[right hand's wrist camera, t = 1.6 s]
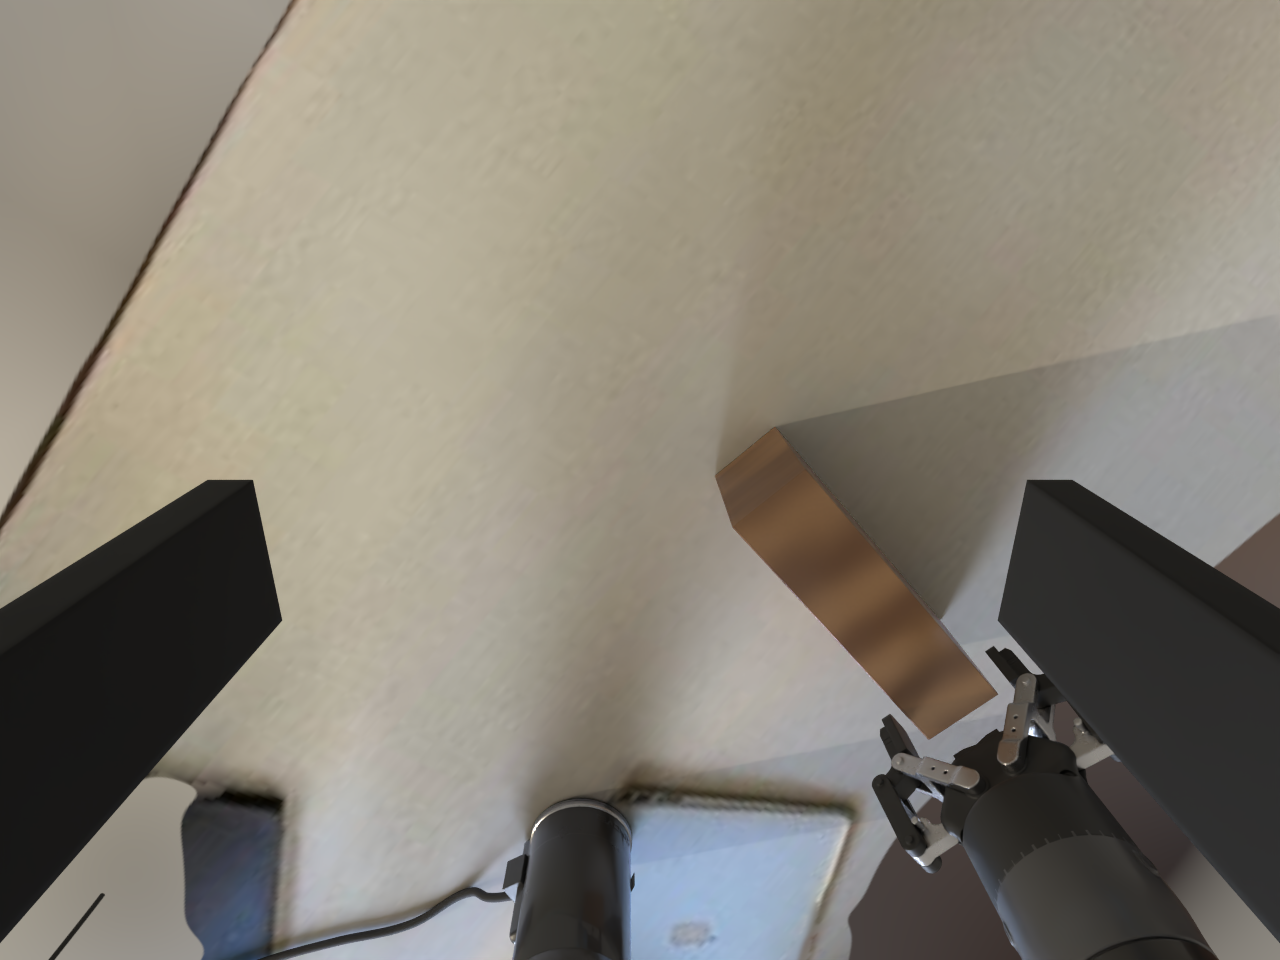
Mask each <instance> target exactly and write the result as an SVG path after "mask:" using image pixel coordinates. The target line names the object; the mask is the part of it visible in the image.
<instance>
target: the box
mask: <svg viewBox="0 0 1280 960" xmlns="http://www.w3.org/2000/svg"><path fill="white" fill-rule="evenodd" d="M715 477H716V480H717V483H718V486H719V489H720V492H721V495H722V498H723V501H724V504H725V507H726V510H727V512H728V515H729V518H730V521H731V524H732V527H733V528H734V529H735V531H736V532H737V533H738V534H739V535H740V536H741V537H742V538H743V539H744V540H745V541H746V542H747V544H748V545H749V546H750V547H751V548H752V549H753V550H754V551H755V552H756V553H757V554H758V555H759V557H760V558H761V559H762V560H763V561H764V562H765V563H766V564H767V565H768V566H769V567H770V569H771V570H772V571H773V572H774V573H775V574H776V575H777V576H778V577H779V578H780V579H781V580H782V582H783V583H784V584H785V585H786V586H787V587H788V588H789V589H790V590H791V591H792V592H793V593H794V595H795V596H796V597H797V598H798V599H799V600H800V601H801V602H802V603H803V604H804V605H805V606H806V608H807V609H808V610H809V611H810V612H811V613H812V614H813V615H814V616H815V617H816V618H817V619H818V621H819V622H820V623H821V624H822V625H823V626H824V627H825V628H826V629H827V630H828V631H829V632H830V634H831V635H832V636H833V637H834V638H835V639H836V640H837V641H838V642H839V643H840V644H841V646H842V647H843V648H844V649H845V650H846V651H847V652H848V653H849V654H850V655H851V656H852V657H853V659H854V660H855V661H856V662H857V663H858V664H859V665H860V666H861V667H862V668H863V669H864V670H865V672H866V673H867V674H868V675H869V676H870V677H871V678H872V679H873V680H874V681H875V682H876V683H877V685H878V686H879V687H880V688H881V689H882V690H883V691H884V692H885V693H886V694H887V695H888V696H889V698H890V699H891V700H892V701H893V702H894V703H895V704H896V705H897V706H898V707H899V708H900V709H901V711H902V712H903V713H904V714H905V715H906V716H907V717H908V718H909V719H910V720H911V721H912V722H913V724H914V725H915V726H916V727H917V728H918V729H919V730H920V731H921V732H922V733H923V734H924V736H925V737H926V738H927V739H928V740H929V739H931V738H932V737H934V736H936V735H937V734H939V733H940V732H942V731H943V730H945V729H946V728H948V727H949V726H951V725H952V724H954V723H955V722H957V721H958V720H960V719H961V718H963V717H964V716H966V715H968V714H969V713H971V712H972V711H974V710H975V709H977V708H978V707H980V706H981V705H983V704H984V703H986V702H987V701H989V700H990V699H992V698H993V697H995V696H997V695H998V693H997V692H996V691H995V689H994V688H993V687H992V686H991V684H990V683H989V682H988V680H987V679H986V678H985V677H984V675H983V674H982V673H981V672H980V670H979V669H978V668H977V666H976V665H975V664H974V663H973V661H972V660H971V659H970V658H969V656H968V655H967V654H966V652H965V651H964V650H963V649H962V647H961V646H960V645H959V644H958V642H957V641H956V640H955V638H954V637H953V636H952V635H951V633H950V632H949V631H948V630H947V628H946V627H945V626H944V624H943V623H942V622H941V621H940V620H939V618H938V617H937V616H936V615H935V614H934V612H933V611H932V610H931V609H930V608H929V607H928V605H927V604H926V603H925V602H924V601H923V600H922V598H921V597H920V596H919V595H918V594H917V592H916V591H915V590H914V589H913V588H912V587H911V585H910V584H909V583H908V582H907V581H906V580H905V578H904V577H903V576H902V575H901V574H900V573H899V571H898V570H897V569H896V568H895V567H894V565H893V564H892V563H891V562H890V561H889V560H888V558H887V557H886V556H885V555H884V554H883V553H882V551H881V550H880V549H879V548H878V547H877V546H876V544H875V543H874V542H873V541H872V540H871V538H870V537H869V536H868V535H867V534H866V533H865V531H864V530H863V529H862V528H861V527H860V526H859V524H858V523H857V522H856V521H855V520H854V519H853V517H852V516H851V515H850V514H849V513H848V511H847V510H846V509H845V508H844V507H843V506H842V504H841V503H840V502H839V501H838V500H837V499H836V497H835V496H834V495H833V494H832V493H831V491H830V490H829V489H828V488H827V487H826V486H825V484H824V483H823V482H822V481H821V480H820V479H819V477H818V476H817V475H816V474H815V473H814V472H813V470H812V469H811V468H810V467H809V466H808V464H807V463H806V462H805V461H804V460H803V459H802V457H801V456H800V455H799V454H798V453H797V452H796V450H795V449H794V448H793V447H792V446H791V445H790V443H789V442H788V441H787V440H786V439H785V437H784V436H783V435H782V434H781V433H780V432H779V430H778V429H777V428H776V427H774V428H773V429H772V430H770V431H769V432H768V433H767V434H765V435H764V436H763V437H762V438H761V439H759V440H758V441H757V442H756V443H754V444H753V445H752V446H751V447H750V448H748V449H747V450H746V451H745V452H743V453H742V454H741V455H740V456H738V457H737V458H736V459H735V460H734V461H732V462H731V463H730V464H729V465H727V466H726V467H725V468H724V469H723V470H721V471H720V472H719V473H718V474H716V475H715Z"/></svg>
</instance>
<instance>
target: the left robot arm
mask: <svg viewBox="0 0 1280 960" xmlns="http://www.w3.org/2000/svg"><path fill="white" fill-rule="evenodd" d="M985 652H986V653H987V655H988V656H989V657H990V658H991V660H992V661H993V662H994V663H995V665H996V666H997V667H998V668H999V670H1000V671H1001V672H1002V673H1003V675H1004V676H1005V677H1006V678H1007V680H1008V681H1009V682H1010V683H1011V685H1012V686H1013V687H1014V688H1015V694H1014V701H1013V703H1009V704H1008V707H1007V713H1006V719H1005V725H1004V731H1001V732H999V731H998V730H997V729H995V730H994V731H992V732H990V733H989V734H987V735H986V736H985V737H984V738H983V739H982V740H981V741H980V742H978V743H977V744H976V745H974V746H971V747H968V748H965V749H963V750H961V751H960V752H958V753H957V754H955V755H953V756H954V757H955V760H954V761H953V763H952V764H948V763H945V762H942V761H939V760H935V759H932V758H929V757H924V758H923V759H921V758H920V757H919V756H918V754H917V752H916V750H915V748H914V746H913V744H912V742H911V740H910V738H909V736H908V734H907V733H906V731H905V730H904V729H903V727H902V726H901V725H900V724H899V723H898V722H897V721H896V720H895V718H894V717H893V716H892V715H891V714H889V715H888V716H886V717H885V718H883V719H882V721H883V723H884V726H885V727H883V728H882V729H880V737H881V739H882V741H883V743H884V745H885V747H886V749H887V752H888V754H889V756H890V758H891V760H892V761H891V764H892V766H891V769H890V771H889V772H888V773H887V774H886V775H884V774H880V775H878V776H876V777H875V778H874V779H873V782H872V787H873V789H874V791H875V793H876V795H877V797H878V799H879V801H880V803H881V805H882V807H883V809H884V811H885V813H886V815H887V817H888V819H889V821H890V823H891V826H892V828H893V830H894V832H895V834H896V836H897V838H898V840H899V841H900V844H901V846H902V847H903V848H904V849H905V850H906V851H907V852H908V853H909V854H910V855H911V856H912V857H913V858H914V859H915V860H916V862H918V863H919V865H920V866H921V867H922V868H923V869H924V870H925V871H927V872H928V873H935V872H937V871H938V870H939V869H940V868H941V865H942V860H941V858H940V856H939V855H941V854H942V853H944V852H945V851H947V850H948V849H950V848H951V847H953V846H954V845H956V844H957V843H959V844H960V845H962V846H963V847H964V848H965V850H966V852H967V854H968V856H969V858H970V860H971V862H972V864H973V866H974V868H975V870H976V872H977V874H978V876H979V877H980V879H981V881H982V883H983V885H984V887H985V889H986V891H987V893H988V895H989V897H990V899H991V901H992V903H993V905H994V907H995V908H996V910H997V912H998V914H999V916H1000V918H1001V920H1002V922H1003V926H1004V930H1005V932H1006V935H1007V937H1008V939H1009V941H1010V942H1011V944H1012V946H1014V948H1015V949H1016V950H1017V951H1018V953H1019V955H1020V956H1021V958H1022V960H1219V959H1218V958H1217V956H1216V955H1215V953H1214V952H1213V951H1212V949H1211V948H1210V947H1209V945H1208V943H1207V942H1206V940H1205V939H1204V937H1203V935H1202V934H1201V932H1200V930H1199V929H1198V927H1197V925H1196V924H1195V922H1194V920H1193V919H1192V917H1191V916H1190V914H1189V913H1188V911H1187V910H1186V908H1185V907H1184V906H1183V904H1182V903H1181V901H1180V900H1179V899H1178V897H1177V896H1176V895H1175V894H1174V892H1173V891H1172V890H1171V888H1170V887H1169V886H1168V885H1167V884H1166V882H1165V881H1164V880H1163V878H1162V877H1161V876H1160V874H1159V872H1158V870H1157V868H1156V867H1155V866H1154V864H1153V863H1152V862H1151V861H1150V860H1149V859H1148V858H1147V857H1146V856H1145V855H1144V854H1143V853H1142V852H1141V851H1140V849H1139V848H1138V847H1137V846H1136V844H1135V843H1134V842H1133V840H1132V839H1131V838H1130V837H1129V835H1128V834H1127V833H1126V832H1125V830H1124V829H1123V828H1122V827H1121V825H1120V824H1119V823H1118V822H1117V820H1116V819H1115V818H1114V817H1113V815H1112V814H1111V813H1110V812H1109V810H1108V809H1107V808H1106V806H1105V805H1104V804H1103V803H1102V801H1101V800H1100V799H1099V798H1098V796H1097V795H1096V794H1095V793H1094V791H1093V790H1092V789H1091V788H1090V786H1089V785H1088V783H1087V779H1086V770H1085V768H1087V767H1089V766H1091V765H1093V764H1095V763H1097V762H1099V761H1101V760H1103V759H1105V758H1107V757H1108V756H1110V757H1111V758H1112V759H1113V760H1115V761H1118V762H1121V761H1120V760H1119V758H1118V757H1117V756H1116V755H1115V754H1114V753H1113V752H1112V750H1111V749H1110V748H1109V747H1108V746H1107V745H1106V744H1105V742H1104V741H1103V740H1102V739H1101V738H1100V737H1099V736H1098V734H1097V733H1096V732H1095V731H1094V730H1093V729H1092V728H1091V726H1090V725H1089V724H1088V723H1087V722H1086V721H1085V720H1084V718H1083V717H1082V716H1081V715H1080V714H1079V713H1078V712H1077V710H1076V709H1075V708H1074V707H1073V706H1072V705H1071V704H1070V702H1069V701H1068V700H1067V699H1066V698H1065V697H1064V696H1063V694H1062V693H1061V692H1060V691H1059V690H1058V689H1057V688H1056V686H1055V685H1054V684H1053V683H1052V682H1051V681H1050V680H1049V678H1048V677H1047V676H1046V675H1045V674H1041V675H1035V674H1032V673H1031V672H1030V671H1029V670H1028V669H1027V668H1026V667H1025V666H1024V665H1023V663H1022V662H1021V661H1020V660H1019V659H1018V658H1017V656H1016V655H1015V654H1014V653H1013V652H1012V651H1011V650H1009V649H1006V648H1005V649H1003V650H1001V651H1000V652H998V651H997V649H996V648H995V647H994V646H993V647H991V648H990V649H988V650H987V651H985ZM1064 701H1067V702H1068V703H1069V704H1070V706H1071V707H1072V708H1073V710H1074V711H1075V712H1076V713H1077V715H1078V716H1079V717H1080V718H1076V719H1074V721H1073V723H1074V724H1075V725H1074V727H1073V733H1074V735H1075V741H1074V743H1073V744H1072V745H1071V746H1070V747H1068V746H1067V745H1065V744H1063V743H1060V742H1056V735H1055V732H1054V729H1053V721H1054V713H1055V704H1057V703H1060V702H1064ZM915 790H916V791H919V792H921V793H924V794H927V795H930V796H932V797H935V798H937V799H939V800H940V801H941V802H943V804H942V810H941V822H942V823H941V824H937V825H935V824H932V823H930V822H929V820H927V819H926V818H918V816H917V814H916V812H915V810H914V809H913V807H912V805H911V803H910V801H909V800H908V797H909V796H910V795H911V794H912V793H913V792H914V791H915ZM631 847H632V836H631V830H630V827H629V824H628V822H627V821H626V819H625V818H624V817H623V815H622V814H621V813H620V812H618V811H617V810H616V809H614V808H613V807H611V806H609V805H607V804H605V803H603V802H600V801H596V800H591V799H571V800H566V801H562V802H559V803H557V804H554V805H552V806H551V807H549V808H547V809H546V810H545V811H544V812H542V813H541V814H540V816H539V817H538V818H537V820H536V821H535V823H534V825H533V828H532V832H531V839H530V840H529V841H527V842H526V843H525V845H524V851H523V855H521V856H519V857H517V858H514V859H512V860H510V861H508V863H507V868H506V874H505V879H504V884H503V890H504V891H505V892H501V893H487V892H485V891H483V890H482V889H480V888H476V887H471V888H467V889H464V890H461V891H459V892H457V893H455V894H453V895H451V896H450V897H448V898H447V899H445V900H444V901H442V902H441V903H439V904H438V905H436V906H435V907H433V908H432V909H430V910H429V911H427V912H426V913H424V914H422V915H420V916H418V917H416V918H414V919H412V920H409V921H406V922H403V923H400V924H397V925H393V926H390V927H385V928H381V929H376V930H370V931H365V932H359V933H354V934H349V935H344V936H340V937H336V938H332V939H328V940H324V941H320V942H316V943H312V944H308V945H304V946H301V947H297V948H293V949H290V950H286V951H283V952H280V953H276V954H273V955H270V956H267V957H264V958H261V959H258V960H285V959H289V958H292V957H296V956H299V955H303V954H307V953H311V952H315V951H319V950H323V949H327V948H331V947H335V946H339V945H343V944H348V943H353V942H358V941H364V940H369V939H375V938H380V937H384V936H389V935H393V934H396V933H400V932H403V931H406V930H409V929H411V928H414V927H416V926H418V925H420V924H422V923H424V922H426V921H428V920H429V919H431V918H432V917H434V916H435V915H437V914H438V913H440V912H441V911H443V910H444V909H446V908H447V907H449V906H450V905H452V904H453V903H455V902H457V901H459V900H461V899H464V898H467V897H471V896H476V897H477V898H479V899H480V900H482V901H485V902H504V901H510V900H513V902H514V903H515V905H514V911H513V917H512V923H511V928H510V940H511V942H512V943H513V944H515V947H514V953H513V960H631V891H632V889H633V887H634V886H635V884H634V874H633V876H632V878H631V862H630V853H631ZM104 896H105V894H104V893H101V894H100V895H99V896H98V897H97V899H96V900H95V901H94V903H93V904H92V905H91V907H90V908H89V909H88V910H87V912H86V913H85V914H84V915H83V917H82V918H81V919H80V921H79V922H78V923H77V924H76V926H75V927H74V928H73V929H72V931H71V932H70V933H69V934H68V936H67V937H66V938H65V939H64V941H63V942H62V943H61V944H60V946H59V947H58V948H57V949H56V951H55V952H54V953H53V954H52V956H51V957H50V958H49V959H48V960H55V959H56V958H57V956H58V955H59V954H60V952H61V951H62V950H63V949H64V947H65V946H66V945H67V944H68V942H69V941H70V940H71V939H72V937H73V936H74V935H75V934H76V932H77V931H78V930H79V928H80V927H81V926H82V925H83V923H84V922H85V921H86V920H87V918H88V917H89V916H90V914H91V913H92V912H93V910H94V909H95V908H96V907H97V905H98V904H99V903H100V901H101V900H102V899H103V897H104Z"/></svg>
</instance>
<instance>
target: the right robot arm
mask: <svg viewBox="0 0 1280 960" xmlns="http://www.w3.org/2000/svg"><path fill="white" fill-rule="evenodd" d="M281 621H282V617H281V612H280V608H279V603H278V598H277V593H276V588H275V584H274V579H273V574H272V569H271V564H270V560H269V555H268V550H267V545H266V541H265V536H264V531H263V526H262V521H261V517H260V512H259V507H258V502H257V497H256V493H255V488H254V483H253V480H207V481H205V482H204V483H202V484H200V485H199V486H197V487H196V488H194V489H192V490H191V491H189V492H187V493H186V494H184V495H183V496H181V497H179V498H178V499H176V500H175V501H173V502H171V503H170V504H168V505H167V506H165V507H163V508H162V509H160V510H159V511H157V512H155V513H154V514H152V515H150V516H149V517H147V518H146V519H144V520H142V521H141V522H139V523H138V524H136V525H134V526H133V527H131V528H130V529H128V530H126V531H125V532H123V533H122V534H120V535H118V536H117V537H115V538H113V539H112V540H110V541H109V542H107V543H105V544H104V545H102V546H101V547H99V548H97V549H96V550H94V551H93V552H91V553H89V554H88V555H86V556H85V557H83V558H81V559H80V560H78V561H77V562H75V563H73V564H72V565H70V566H68V567H67V568H65V569H64V570H62V571H60V572H59V573H57V574H56V575H54V576H52V577H51V578H49V579H48V580H46V581H44V582H43V583H41V584H40V585H38V586H36V587H35V588H33V589H31V590H30V591H28V592H27V593H25V594H23V595H22V596H20V597H19V598H17V599H15V600H14V601H12V602H11V603H9V604H7V605H6V606H4V607H3V608H1V609H0V943H1V941H2V940H3V939H4V938H5V937H6V936H7V935H8V933H9V932H10V931H11V930H12V929H13V928H14V927H15V925H16V924H17V923H18V922H19V921H20V920H21V919H22V917H23V916H24V915H25V914H26V913H27V912H28V911H29V909H30V908H31V907H32V906H33V905H34V904H35V903H36V901H37V900H38V899H39V898H40V897H41V896H42V895H43V893H44V892H45V891H46V890H47V889H48V888H49V887H50V885H51V884H52V883H53V882H54V881H55V880H56V879H57V877H58V876H59V875H60V874H61V873H62V872H63V870H64V869H65V868H66V867H67V866H68V865H69V864H70V863H71V861H72V860H73V859H74V858H75V857H76V856H77V855H78V853H79V852H80V851H81V850H82V849H83V848H84V846H85V845H86V844H87V843H88V842H89V841H90V840H91V839H92V837H93V836H94V835H95V834H96V833H97V832H98V830H99V829H100V828H101V827H102V826H103V825H104V824H105V823H106V821H107V820H108V819H109V818H110V817H111V816H112V815H113V813H114V812H115V811H116V810H117V809H118V808H119V807H120V805H121V804H122V803H123V802H124V801H125V800H126V799H127V797H128V796H129V795H130V794H131V793H132V792H133V790H134V789H135V788H136V787H137V786H138V785H139V784H140V782H141V781H142V780H143V779H144V778H145V777H146V776H147V774H148V773H149V772H150V771H151V770H152V769H153V768H154V766H155V765H156V764H157V763H158V762H159V761H160V760H161V758H162V757H163V756H164V755H165V754H166V753H167V752H168V750H169V749H170V748H171V747H172V746H173V745H174V744H175V742H176V741H177V740H178V739H179V738H180V737H181V736H182V734H183V733H184V732H185V731H186V730H187V729H188V728H189V726H190V725H191V724H192V723H193V722H194V721H195V720H196V718H197V717H198V716H199V715H200V714H201V713H202V712H203V710H204V709H205V708H206V707H207V706H208V705H209V704H210V702H211V701H212V700H213V699H214V698H215V697H216V696H217V694H218V693H219V692H220V691H221V690H222V689H223V688H224V686H225V685H226V684H227V683H228V682H229V681H230V680H231V678H232V677H233V676H234V675H235V674H236V673H237V672H238V670H239V669H240V668H241V667H242V666H243V665H244V664H245V662H246V661H247V660H248V659H249V658H250V657H251V656H252V654H253V653H254V652H255V651H256V650H257V649H258V648H259V646H260V645H261V644H262V643H263V642H264V641H265V640H266V638H267V637H268V636H269V635H270V634H271V633H272V632H273V630H274V629H275V628H276V627H277V626H278V625H279V624H280V622H281ZM998 621H999V622H1000V624H1001V625H1002V626H1003V627H1004V628H1005V629H1006V630H1007V632H1008V633H1009V634H1010V635H1011V636H1012V637H1013V638H1014V640H1015V641H1016V642H1017V643H1018V644H1019V645H1020V646H1021V648H1022V649H1023V650H1024V651H1025V652H1026V653H1027V654H1028V656H1029V657H1030V658H1031V659H1032V660H1033V661H1034V662H1035V664H1036V665H1037V666H1038V667H1039V668H1040V669H1041V670H1042V672H1043V673H1044V674H1045V675H1046V676H1047V677H1048V678H1049V680H1050V681H1051V682H1052V683H1053V684H1054V685H1055V686H1056V688H1057V689H1058V690H1059V691H1060V692H1061V693H1062V694H1063V696H1064V697H1065V698H1066V699H1067V700H1068V701H1069V702H1070V704H1071V705H1072V706H1073V707H1074V708H1075V709H1076V710H1077V712H1078V713H1079V714H1080V715H1081V716H1082V717H1083V718H1084V720H1085V721H1086V722H1087V723H1088V724H1089V725H1090V726H1091V728H1092V729H1093V730H1094V731H1095V732H1096V733H1097V734H1098V736H1099V737H1100V738H1101V739H1102V740H1103V741H1104V742H1105V744H1106V745H1107V746H1108V747H1109V748H1110V749H1111V750H1112V752H1113V753H1114V754H1115V755H1116V756H1117V757H1118V758H1119V760H1120V761H1121V762H1122V763H1123V764H1124V765H1125V766H1126V768H1127V769H1128V770H1129V771H1130V772H1131V773H1132V774H1133V776H1134V777H1135V778H1136V779H1137V780H1138V781H1139V782H1140V784H1141V785H1142V786H1143V787H1144V788H1145V789H1146V790H1147V792H1148V793H1149V794H1150V795H1151V796H1152V797H1153V799H1154V800H1155V801H1156V802H1157V803H1158V804H1159V805H1160V807H1161V808H1162V809H1163V810H1164V811H1165V812H1166V813H1167V814H1168V816H1169V817H1170V818H1171V819H1172V820H1173V821H1174V822H1175V824H1176V825H1177V826H1178V827H1179V828H1180V829H1181V831H1182V832H1183V833H1184V834H1185V835H1186V836H1187V837H1188V839H1189V840H1190V841H1191V842H1192V843H1193V844H1194V845H1195V847H1196V848H1197V849H1198V850H1199V851H1200V852H1201V853H1202V855H1203V856H1204V857H1205V858H1206V859H1207V860H1208V861H1209V863H1210V864H1211V865H1212V866H1213V867H1214V868H1215V869H1216V871H1217V872H1218V873H1219V874H1220V875H1221V876H1222V877H1223V879H1224V880H1225V881H1226V882H1227V883H1228V884H1229V885H1230V887H1231V888H1232V889H1233V890H1234V891H1235V892H1236V893H1237V895H1238V896H1239V897H1240V898H1241V899H1242V900H1243V901H1244V903H1245V904H1246V905H1247V906H1248V907H1249V908H1250V909H1251V911H1252V912H1253V913H1254V914H1255V915H1256V916H1257V917H1258V919H1259V920H1260V921H1261V922H1262V923H1263V924H1264V925H1265V927H1266V928H1267V929H1268V930H1269V931H1270V932H1271V933H1272V935H1273V936H1274V937H1275V938H1276V939H1277V940H1278V941H1279V943H1280V609H1279V608H1277V607H1276V606H1274V605H1273V604H1271V603H1269V602H1268V601H1266V600H1265V599H1263V598H1261V597H1260V596H1258V595H1257V594H1255V593H1253V592H1252V591H1250V590H1249V589H1247V588H1245V587H1244V586H1242V585H1240V584H1239V583H1237V582H1236V581H1234V580H1232V579H1231V578H1229V577H1228V576H1226V575H1224V574H1223V573H1221V572H1220V571H1218V570H1216V569H1215V568H1213V567H1212V566H1210V565H1208V564H1207V563H1205V562H1203V561H1202V560H1200V559H1199V558H1197V557H1195V556H1194V555H1192V554H1191V553H1189V552H1187V551H1186V550H1184V549H1183V548H1181V547H1179V546H1178V545H1176V544H1175V543H1173V542H1171V541H1170V540H1168V539H1167V538H1165V537H1163V536H1162V535H1160V534H1158V533H1157V532H1155V531H1154V530H1152V529H1150V528H1149V527H1147V526H1146V525H1144V524H1142V523H1141V522H1139V521H1138V520H1136V519H1134V518H1133V517H1131V516H1130V515H1128V514H1126V513H1125V512H1123V511H1121V510H1120V509H1118V508H1117V507H1115V506H1113V505H1112V504H1110V503H1109V502H1107V501H1105V500H1104V499H1102V498H1101V497H1099V496H1097V495H1096V494H1094V493H1093V492H1091V491H1089V490H1088V489H1086V488H1084V487H1083V486H1081V485H1080V484H1078V483H1076V482H1075V481H1073V480H1027V483H1026V488H1025V493H1024V497H1023V502H1022V507H1021V512H1020V517H1019V521H1018V526H1017V531H1016V536H1015V541H1014V545H1013V550H1012V555H1011V560H1010V565H1009V569H1008V574H1007V579H1006V584H1005V588H1004V593H1003V598H1002V603H1001V608H1000V612H999V617H998Z"/></svg>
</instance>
